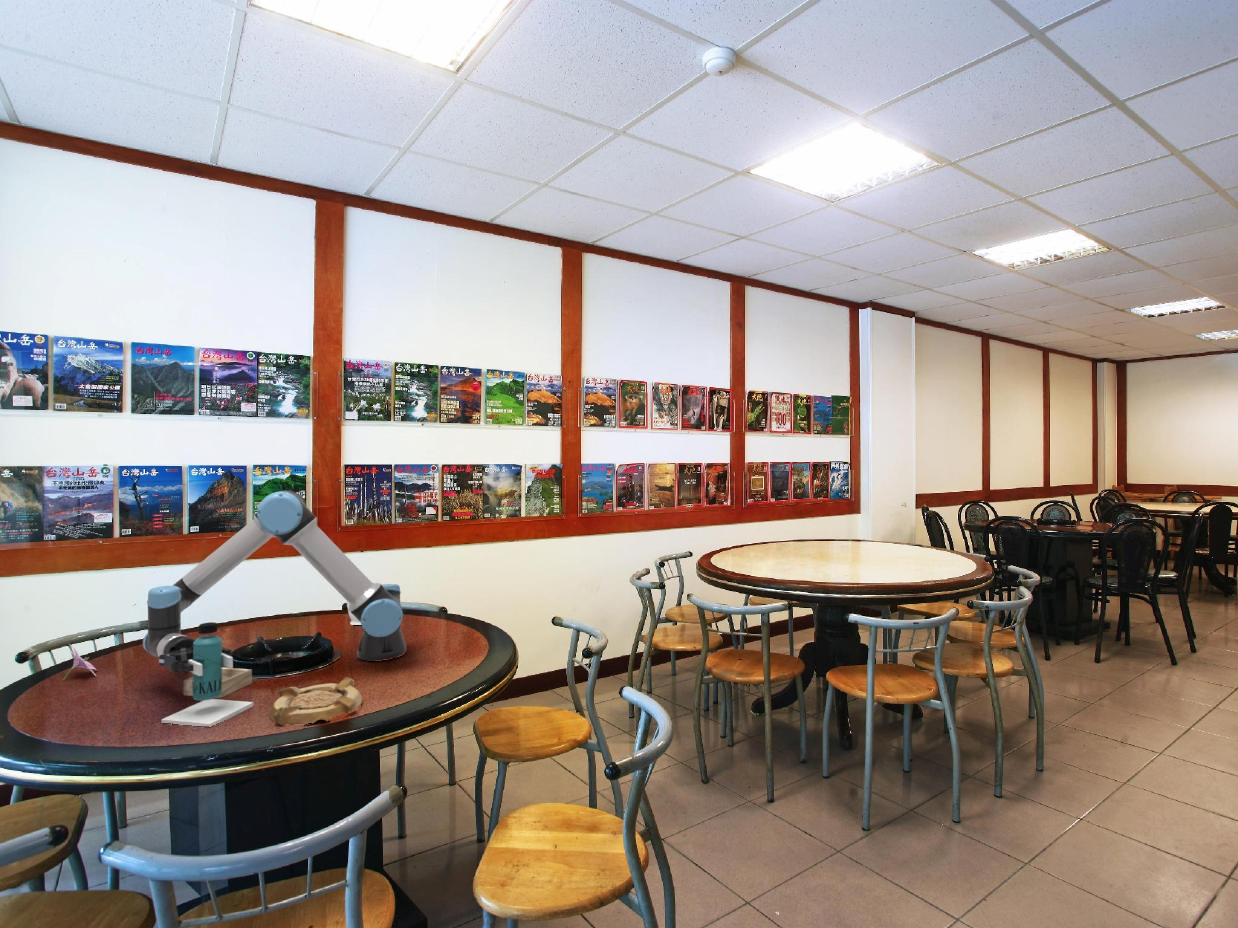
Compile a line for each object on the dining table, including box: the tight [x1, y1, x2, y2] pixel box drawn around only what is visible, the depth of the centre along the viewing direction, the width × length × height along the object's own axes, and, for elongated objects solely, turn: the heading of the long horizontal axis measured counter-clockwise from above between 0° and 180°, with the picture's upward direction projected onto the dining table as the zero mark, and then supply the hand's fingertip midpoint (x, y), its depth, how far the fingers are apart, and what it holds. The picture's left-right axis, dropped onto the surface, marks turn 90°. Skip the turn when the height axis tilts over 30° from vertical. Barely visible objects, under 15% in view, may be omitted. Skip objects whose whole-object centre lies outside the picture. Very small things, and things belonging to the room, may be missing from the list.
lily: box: [62, 642, 97, 681], centre depth 196 cm, size 12×12×10 cm
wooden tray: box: [183, 666, 253, 699], centre depth 185 cm, size 12×12×4 cm
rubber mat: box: [161, 698, 254, 728], centre depth 167 cm, size 14×14×1 cm
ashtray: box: [268, 676, 363, 726], centre depth 171 cm, size 24×24×5 cm
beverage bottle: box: [192, 621, 223, 701], centre depth 167 cm, size 6×7×20 cm
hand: (216, 666), depth 163 cm, fingers closed on beverage bottle, 6 cm apart
